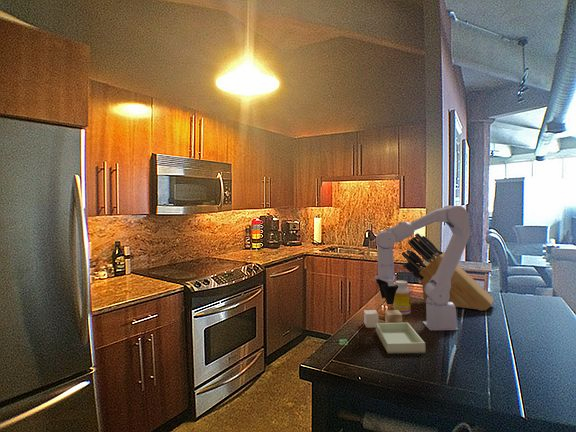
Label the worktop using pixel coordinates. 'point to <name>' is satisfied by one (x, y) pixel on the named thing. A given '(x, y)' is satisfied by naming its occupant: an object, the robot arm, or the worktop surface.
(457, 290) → the knife block
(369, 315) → the cream box
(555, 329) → the worktop surface
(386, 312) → the oak block
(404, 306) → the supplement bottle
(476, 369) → the worktop surface
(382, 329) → the tote tray
